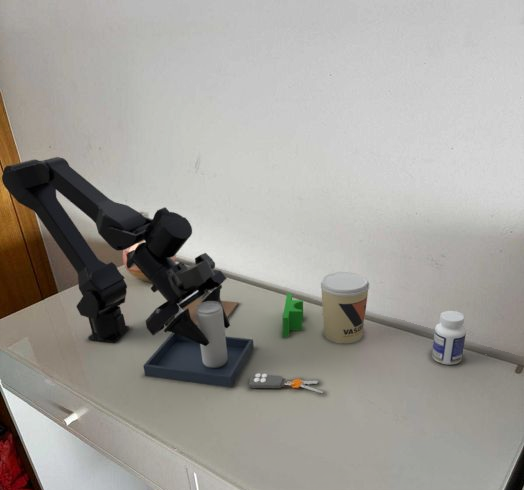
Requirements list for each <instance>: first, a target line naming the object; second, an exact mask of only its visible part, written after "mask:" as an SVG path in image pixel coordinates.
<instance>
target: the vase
mask: <svg viewBox="0 0 524 490" xmlns="http://www.w3.org/2000/svg"><path fill="white" fill-rule="evenodd" d="M138 212H139V213H141V214H142V215H143V216H144V217H146V218H150V216H149V212H148V211H147V210H139V211H138ZM144 242H146V241H145V240H144V241H142V242H140V243H137V244H135V245H133V246H131V247H129V248H127V249H125V250H122V262H123V265H124V268H125V269H126V271H127V272H128V273H129V274H130V275H131V276H133V277H134V278H136V279H138V280H140V281H142V282H144V283H145V282H147V283H151V282H150V281H149V279H148V278H147V277H146V276H145V275H144V274H143V273H142V272H141V270H140V269H139V268H138V267H137V266H136V265H135V266H133V267H131V268H127V264H126V262H127V256H126V254H127V253H129V252H131V251H133V250H135V249H136V247H137V246H138V245H139V244H141V243H144ZM171 258H172V259H173V260H174V262H175V263H177V254H176V255H175V256H173V257H171Z"/></svg>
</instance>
